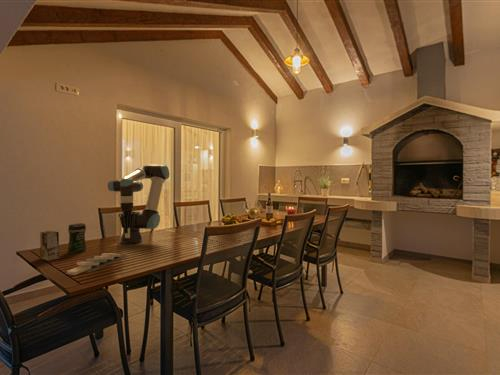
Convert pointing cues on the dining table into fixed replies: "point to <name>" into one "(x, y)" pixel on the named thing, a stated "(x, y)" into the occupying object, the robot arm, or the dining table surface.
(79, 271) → the domino
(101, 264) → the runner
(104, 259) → the domino
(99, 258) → the domino
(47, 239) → the coffee box
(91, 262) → the domino
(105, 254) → the domino
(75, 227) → the coffee jar
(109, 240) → the dining table surface
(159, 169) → the robot arm
